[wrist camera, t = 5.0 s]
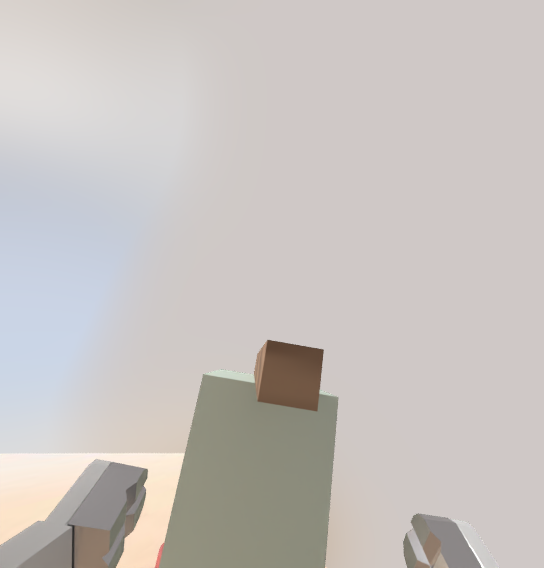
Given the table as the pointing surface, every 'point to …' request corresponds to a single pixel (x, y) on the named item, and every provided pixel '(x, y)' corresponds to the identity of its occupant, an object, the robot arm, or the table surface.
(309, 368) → the rod
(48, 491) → the table surface
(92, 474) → the robot arm
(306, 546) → the pedestal
